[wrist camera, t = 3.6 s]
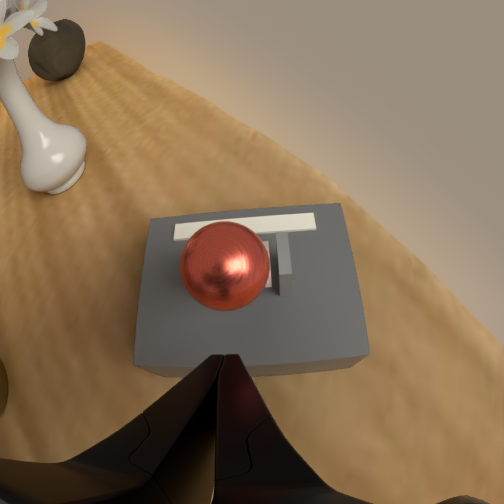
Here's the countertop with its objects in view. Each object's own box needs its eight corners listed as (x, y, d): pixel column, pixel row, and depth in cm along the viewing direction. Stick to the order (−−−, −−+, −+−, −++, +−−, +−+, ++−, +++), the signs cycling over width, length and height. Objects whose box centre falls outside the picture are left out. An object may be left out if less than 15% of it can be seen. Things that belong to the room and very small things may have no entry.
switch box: (350, 367, 19) (386, 341, 12) (163, 376, 20) (109, 355, 13) (331, 242, 24) (346, 174, 17) (171, 254, 25) (135, 193, 18)
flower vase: (28, 258, 26) (-115, 89, 5) (32, 162, 35) (-44, 34, 13) (125, 202, 28) (12, -31, 7) (105, 120, 37) (45, -28, 16)
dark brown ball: (101, 63, 51) (81, 9, 38) (47, 98, 47) (20, 44, 34) (86, 56, 57) (69, 10, 44) (40, 86, 53) (18, 41, 40)
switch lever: (272, 296, 17) (273, 313, 9) (217, 299, 17) (170, 318, 9) (268, 241, 17) (265, 208, 9) (214, 245, 17) (165, 218, 9)
